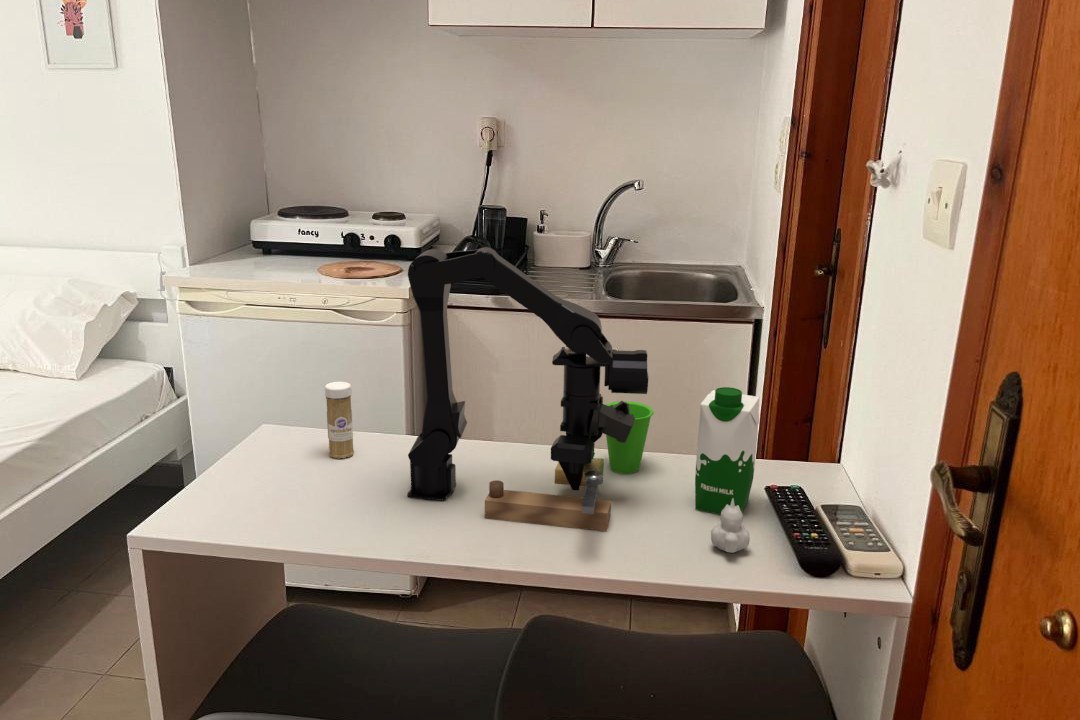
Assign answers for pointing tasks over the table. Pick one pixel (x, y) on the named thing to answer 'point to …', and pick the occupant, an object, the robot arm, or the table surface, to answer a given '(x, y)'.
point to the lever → (591, 490)
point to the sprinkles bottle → (339, 419)
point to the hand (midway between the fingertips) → (578, 482)
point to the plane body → (544, 509)
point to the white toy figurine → (730, 530)
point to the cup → (630, 441)
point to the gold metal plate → (593, 466)
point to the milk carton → (726, 449)
